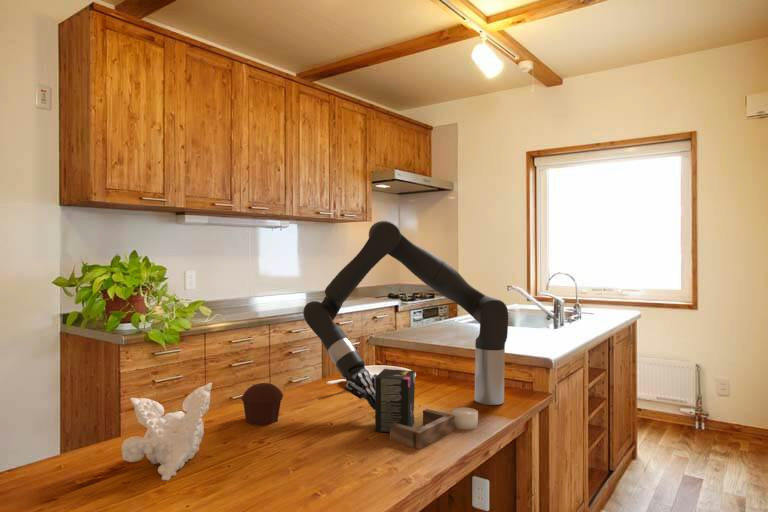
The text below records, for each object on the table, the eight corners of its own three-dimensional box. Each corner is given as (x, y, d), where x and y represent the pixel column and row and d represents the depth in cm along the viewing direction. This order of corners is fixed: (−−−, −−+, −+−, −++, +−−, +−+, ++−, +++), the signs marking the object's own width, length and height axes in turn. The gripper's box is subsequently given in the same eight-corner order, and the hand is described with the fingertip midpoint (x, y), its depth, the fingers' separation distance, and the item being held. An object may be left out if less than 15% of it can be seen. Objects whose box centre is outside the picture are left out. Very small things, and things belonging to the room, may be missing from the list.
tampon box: (408, 435, 135) (409, 379, 135) (374, 432, 137) (374, 377, 137) (415, 421, 146) (415, 369, 146) (383, 419, 148) (383, 367, 148)
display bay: (426, 423, 145) (426, 408, 145) (454, 430, 139) (455, 415, 139) (390, 440, 131) (390, 424, 131) (419, 449, 126) (419, 432, 126)
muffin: (269, 411, 154) (270, 377, 154) (291, 420, 146) (291, 384, 146) (233, 420, 146) (233, 384, 145) (253, 430, 138) (254, 392, 138)
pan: (430, 382, 190) (430, 369, 190) (356, 405, 161) (356, 390, 161) (377, 371, 208) (377, 359, 207) (301, 389, 179) (301, 375, 179)
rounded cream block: (460, 419, 149) (460, 405, 149) (482, 425, 144) (482, 410, 144) (447, 426, 143) (447, 411, 143) (470, 431, 139) (470, 416, 139)
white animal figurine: (209, 400, 133) (212, 374, 117) (216, 482, 124) (220, 466, 108) (128, 412, 126) (119, 386, 110) (128, 500, 117) (119, 486, 101)
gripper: (337, 353, 145) (370, 405, 138) (367, 346, 156) (399, 395, 148) (323, 369, 149) (355, 421, 141) (354, 361, 159) (384, 409, 152)
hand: (377, 407), depth 145 cm, fingers closed
